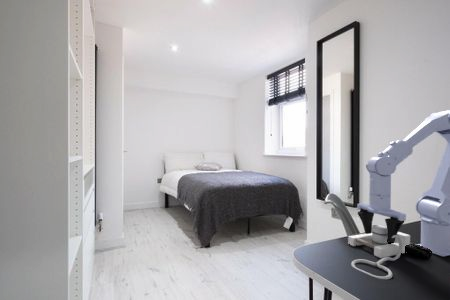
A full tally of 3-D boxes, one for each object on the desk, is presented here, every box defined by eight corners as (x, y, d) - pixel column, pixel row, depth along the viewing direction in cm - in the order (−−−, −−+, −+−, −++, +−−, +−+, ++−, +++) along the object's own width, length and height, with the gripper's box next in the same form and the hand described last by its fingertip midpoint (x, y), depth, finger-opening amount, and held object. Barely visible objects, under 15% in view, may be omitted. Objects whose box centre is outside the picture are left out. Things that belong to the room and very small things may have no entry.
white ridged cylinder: (368, 245, 78) (369, 225, 78) (378, 244, 79) (379, 224, 79) (380, 250, 74) (380, 229, 74) (390, 249, 75) (391, 228, 75)
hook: (421, 261, 67) (385, 294, 56) (384, 249, 75) (347, 275, 64) (419, 236, 66) (383, 264, 56) (382, 226, 74) (345, 249, 64)
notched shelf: (375, 239, 84) (375, 224, 84) (409, 251, 74) (410, 235, 74) (348, 243, 79) (348, 228, 79) (380, 258, 69) (380, 240, 69)
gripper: (351, 191, 82) (350, 231, 82) (394, 199, 68) (394, 247, 68) (365, 190, 84) (365, 229, 84) (410, 198, 71) (410, 244, 71)
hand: (379, 237), depth 77 cm, fingers open, 7 cm apart
